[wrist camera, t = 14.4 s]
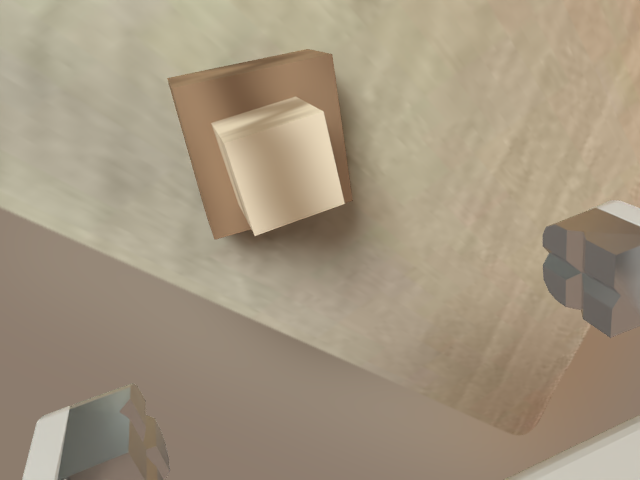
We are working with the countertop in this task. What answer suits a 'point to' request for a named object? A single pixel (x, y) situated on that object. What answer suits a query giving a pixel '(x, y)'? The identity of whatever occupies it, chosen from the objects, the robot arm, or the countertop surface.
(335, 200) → the birch cube
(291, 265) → the countertop surface
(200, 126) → the walnut block
